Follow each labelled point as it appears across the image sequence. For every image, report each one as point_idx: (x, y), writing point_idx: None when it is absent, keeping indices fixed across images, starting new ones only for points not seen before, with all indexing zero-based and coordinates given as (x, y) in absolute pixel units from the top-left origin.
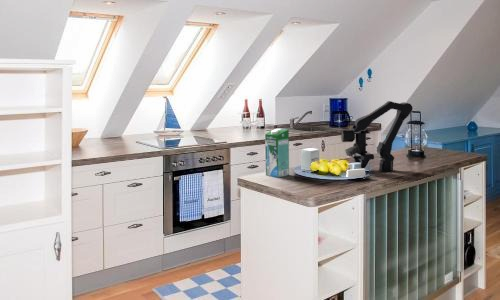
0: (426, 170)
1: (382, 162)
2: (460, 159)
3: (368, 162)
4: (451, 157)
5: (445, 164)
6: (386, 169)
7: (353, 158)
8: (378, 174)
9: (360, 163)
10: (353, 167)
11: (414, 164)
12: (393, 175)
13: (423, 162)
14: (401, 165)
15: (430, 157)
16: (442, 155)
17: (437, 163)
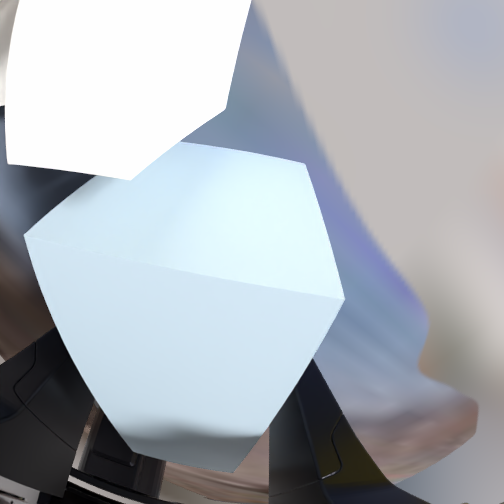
0: None
1: (100, 459)
2: (207, 494)
3: (157, 457)
4: (237, 498)
5: (171, 480)
6: (98, 410)
7: (391, 494)
8: (27, 313)
9: (115, 401)
10: (129, 183)
11: (215, 478)
12: (9, 343)
13: (226, 486)
14: None
15: None
16: (267, 500)
17: (192, 484)
